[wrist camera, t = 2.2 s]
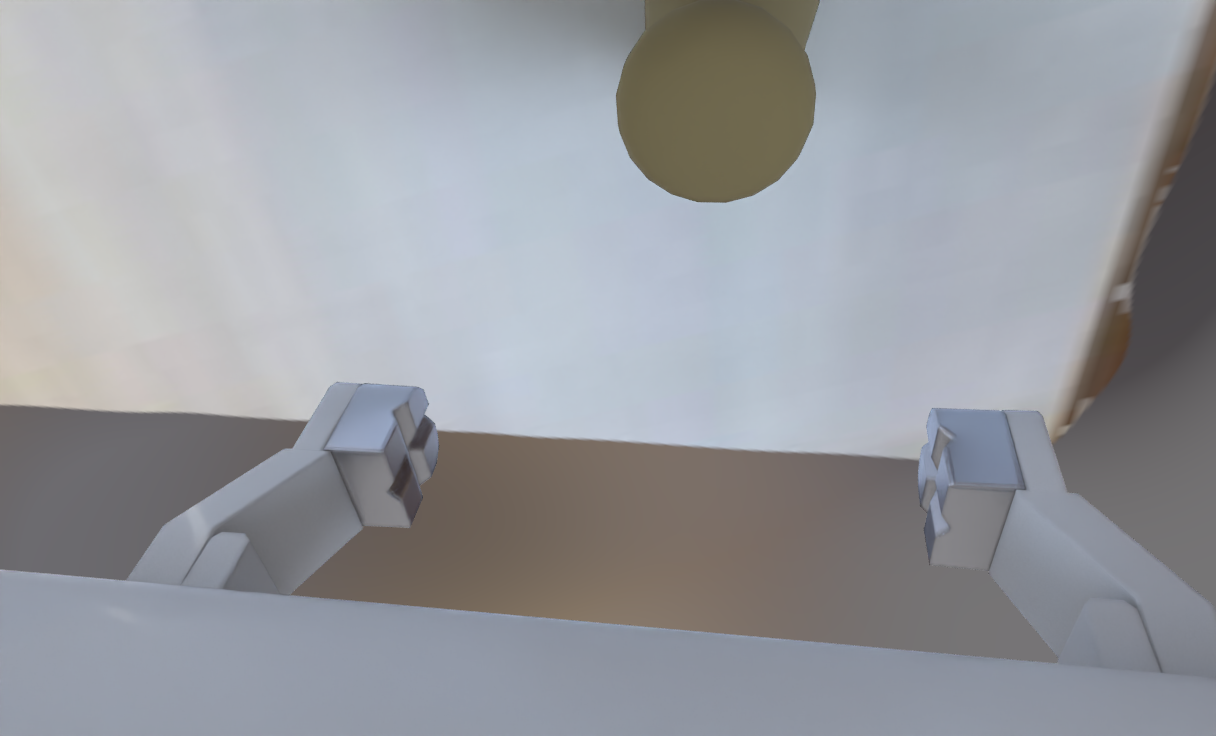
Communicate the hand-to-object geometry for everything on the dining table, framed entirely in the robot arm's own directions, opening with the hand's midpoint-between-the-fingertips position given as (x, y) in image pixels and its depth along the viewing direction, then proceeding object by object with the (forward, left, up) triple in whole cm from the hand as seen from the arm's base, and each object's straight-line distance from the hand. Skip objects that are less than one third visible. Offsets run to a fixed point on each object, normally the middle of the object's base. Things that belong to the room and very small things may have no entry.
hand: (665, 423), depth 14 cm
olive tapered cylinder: (0, 0, -21) cm, 21 cm away
